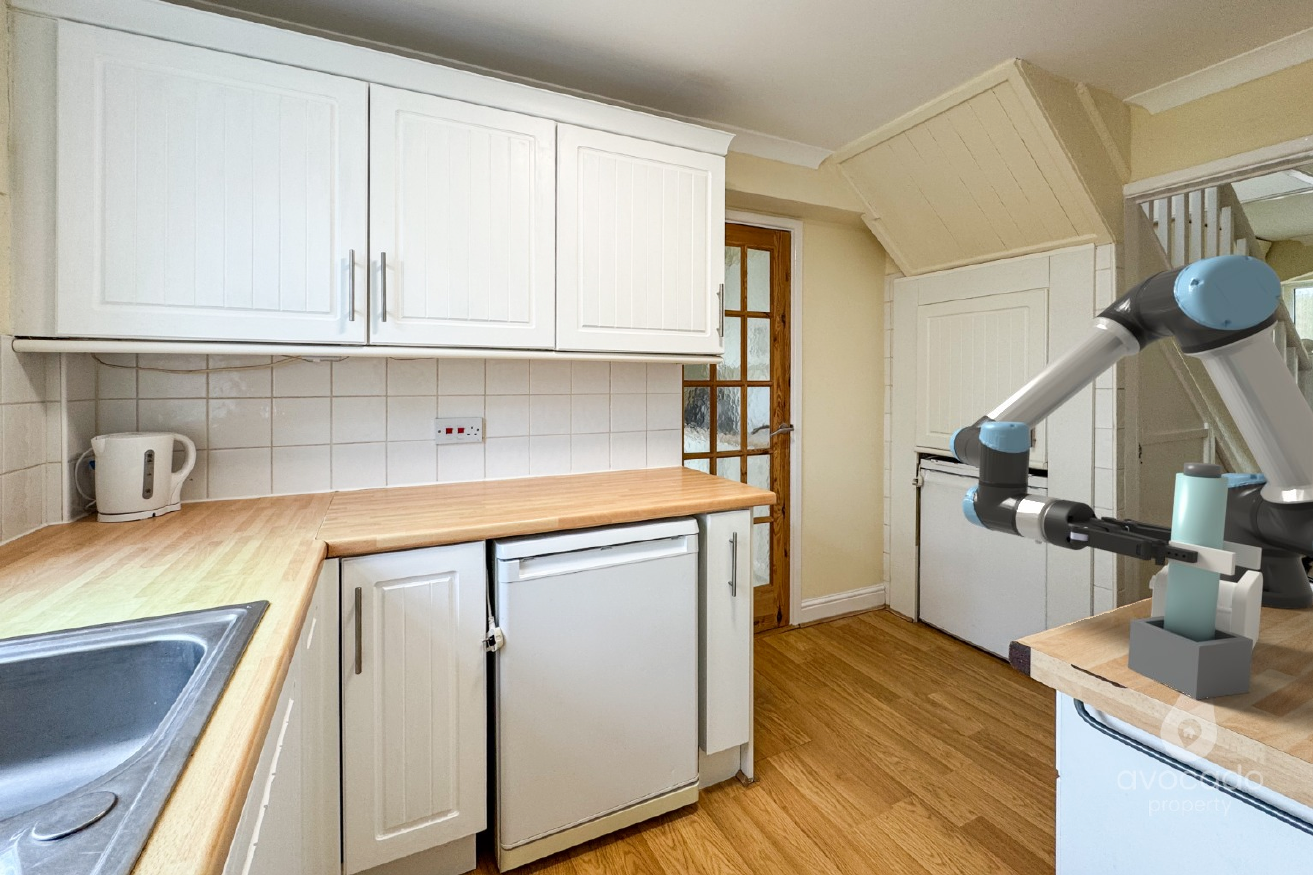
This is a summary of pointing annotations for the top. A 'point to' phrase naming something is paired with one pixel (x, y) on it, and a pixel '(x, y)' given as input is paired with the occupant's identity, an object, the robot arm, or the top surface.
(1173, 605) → the teal bottle
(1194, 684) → the block
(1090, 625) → the top surface
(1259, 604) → the white piece
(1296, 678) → the top surface
